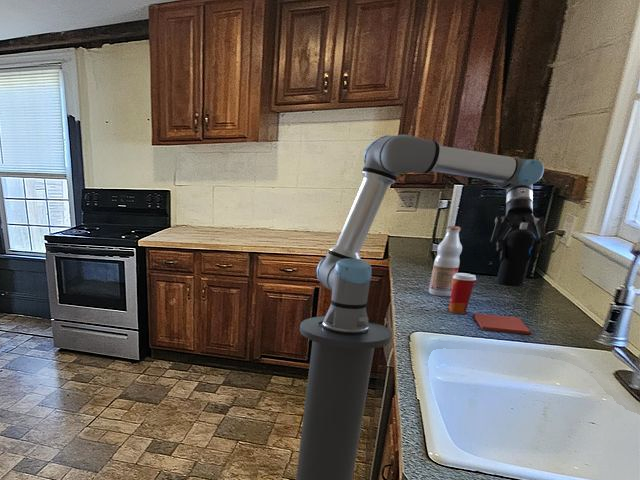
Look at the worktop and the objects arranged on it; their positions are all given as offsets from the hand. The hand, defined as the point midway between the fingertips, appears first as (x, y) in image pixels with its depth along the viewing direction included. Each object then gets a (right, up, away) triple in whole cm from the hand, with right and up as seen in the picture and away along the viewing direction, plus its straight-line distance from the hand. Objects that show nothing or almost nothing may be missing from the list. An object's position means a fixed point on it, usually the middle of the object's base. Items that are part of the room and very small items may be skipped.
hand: (518, 259), depth 171 cm
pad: (+2, -20, +11) cm, 23 cm away
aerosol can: (+1, -7, +6) cm, 9 cm away
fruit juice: (+3, -5, +53) cm, 53 cm away
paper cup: (-5, -15, +27) cm, 31 cm away
